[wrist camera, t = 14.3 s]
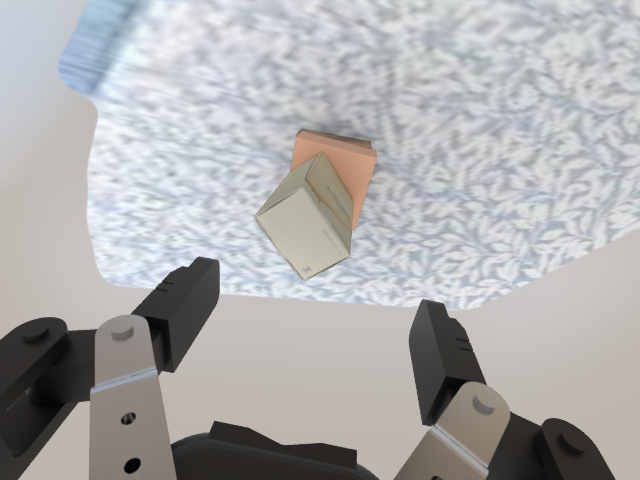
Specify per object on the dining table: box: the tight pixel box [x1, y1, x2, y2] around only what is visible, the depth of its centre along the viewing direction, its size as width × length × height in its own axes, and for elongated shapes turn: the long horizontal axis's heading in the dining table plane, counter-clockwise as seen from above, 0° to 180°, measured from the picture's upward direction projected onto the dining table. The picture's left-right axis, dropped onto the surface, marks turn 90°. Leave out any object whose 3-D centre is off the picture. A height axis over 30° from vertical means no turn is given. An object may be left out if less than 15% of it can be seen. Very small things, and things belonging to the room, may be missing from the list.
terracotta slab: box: [290, 131, 377, 230], centre depth 35 cm, size 8×8×4 cm
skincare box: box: [254, 151, 354, 282], centre depth 28 cm, size 6×4×12 cm
